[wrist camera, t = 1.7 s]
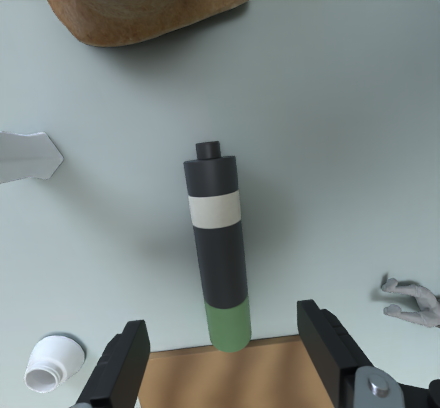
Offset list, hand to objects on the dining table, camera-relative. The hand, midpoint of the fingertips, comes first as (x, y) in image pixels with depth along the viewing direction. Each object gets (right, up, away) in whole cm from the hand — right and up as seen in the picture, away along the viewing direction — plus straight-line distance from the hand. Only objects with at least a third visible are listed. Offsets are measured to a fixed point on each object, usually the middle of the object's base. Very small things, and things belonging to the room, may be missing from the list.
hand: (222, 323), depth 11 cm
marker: (0, +3, +9) cm, 10 cm away
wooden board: (+2, -14, +13) cm, 19 cm away
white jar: (-17, -9, +12) cm, 23 cm away
